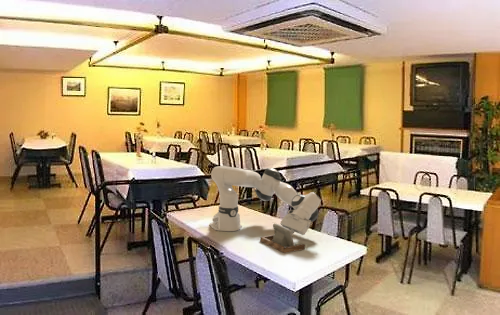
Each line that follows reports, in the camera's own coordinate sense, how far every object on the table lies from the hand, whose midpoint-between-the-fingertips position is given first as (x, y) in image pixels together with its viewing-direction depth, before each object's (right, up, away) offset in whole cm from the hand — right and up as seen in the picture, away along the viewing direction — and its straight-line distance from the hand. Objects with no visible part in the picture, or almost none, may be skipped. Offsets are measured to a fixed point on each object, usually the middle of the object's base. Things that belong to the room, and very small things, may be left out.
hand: (286, 235), depth 251 cm
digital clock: (-2, -5, +1) cm, 5 cm away
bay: (-3, -5, -1) cm, 6 cm away
